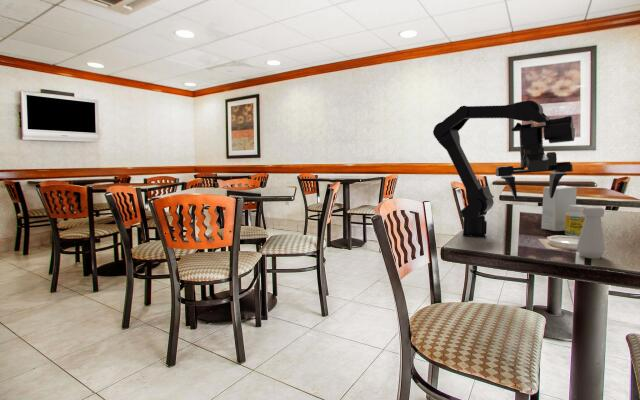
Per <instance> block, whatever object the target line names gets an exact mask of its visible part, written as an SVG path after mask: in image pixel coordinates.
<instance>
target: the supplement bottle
mask: <svg viewBox="0 0 640 400" xmlns="http://www.w3.org/2000/svg"><path fill="white" fill-rule="evenodd" d="M584 208H585V206H584V205H581V204H576V205H569V210H570V211H568V212H567V213H566V221H565V230H564V234H565V235H566V236H576V237H580V234H581V230H582V227H583V223H584V220H585V215H583V209H584Z"/></svg>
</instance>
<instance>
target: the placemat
mask: <svg viewBox="0 0 640 400" xmlns="http://www.w3.org/2000/svg"><path fill="white" fill-rule="evenodd" d="M537 240H538V241H539V242H540V243H541V244H542V245H543V246H544V248H545V249H548V250H562V251H563V250H564V251H574V250H573V249H564V248H559V247H555V246H551V245H549V244H548V239H547V238H537ZM604 253H608V251H607V250H606V249H605V252H604Z"/></svg>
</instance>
